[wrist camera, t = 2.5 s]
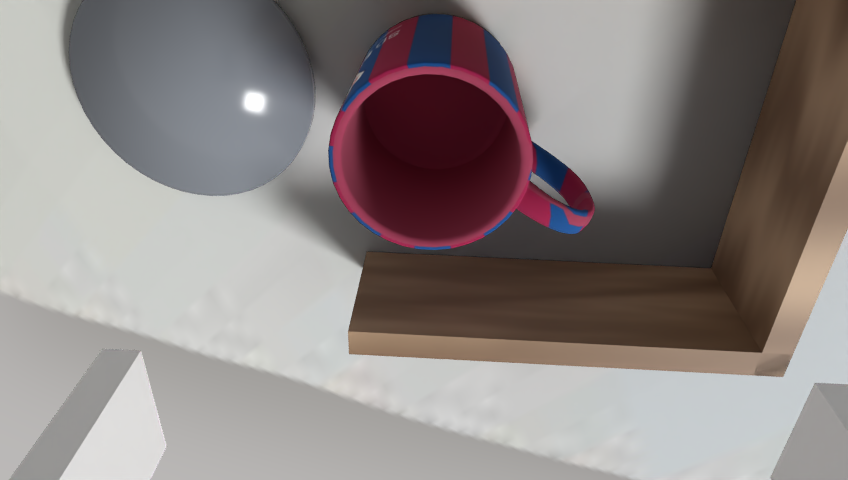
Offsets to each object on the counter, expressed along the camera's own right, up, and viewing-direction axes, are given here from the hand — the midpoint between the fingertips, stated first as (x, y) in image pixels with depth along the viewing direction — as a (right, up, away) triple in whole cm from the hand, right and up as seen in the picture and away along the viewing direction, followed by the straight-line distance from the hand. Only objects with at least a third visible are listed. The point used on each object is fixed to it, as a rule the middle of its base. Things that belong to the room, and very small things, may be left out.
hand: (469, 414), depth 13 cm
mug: (+1, +9, +14) cm, 17 cm away
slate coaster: (-10, +10, +14) cm, 20 cm away
